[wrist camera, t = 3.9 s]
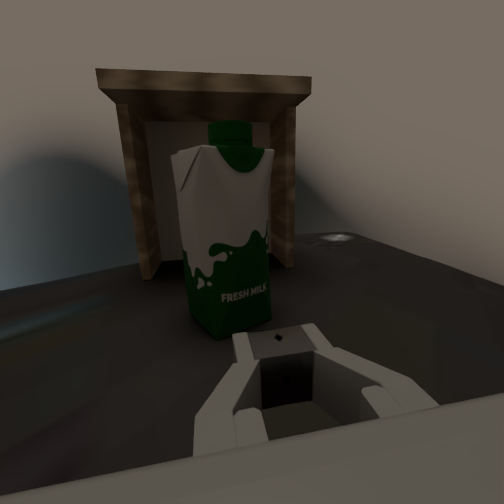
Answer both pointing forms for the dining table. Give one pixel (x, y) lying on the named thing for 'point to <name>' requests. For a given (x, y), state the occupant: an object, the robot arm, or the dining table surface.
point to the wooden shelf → (195, 134)
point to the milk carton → (225, 228)
